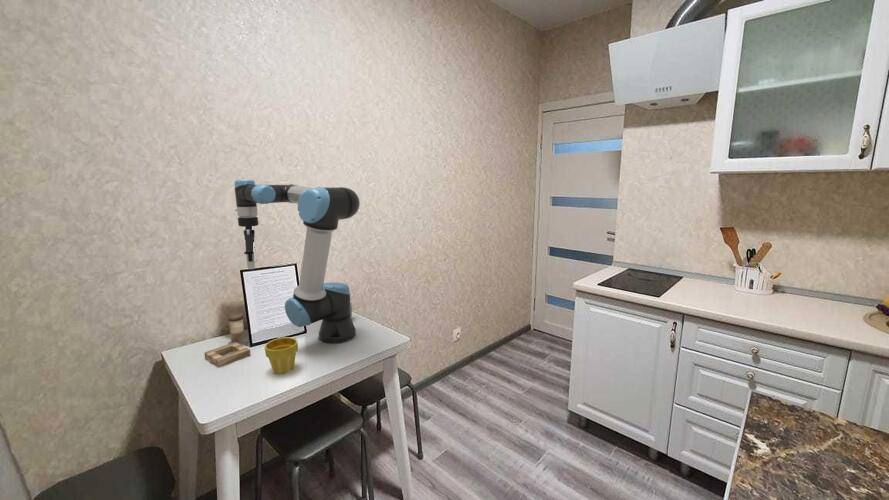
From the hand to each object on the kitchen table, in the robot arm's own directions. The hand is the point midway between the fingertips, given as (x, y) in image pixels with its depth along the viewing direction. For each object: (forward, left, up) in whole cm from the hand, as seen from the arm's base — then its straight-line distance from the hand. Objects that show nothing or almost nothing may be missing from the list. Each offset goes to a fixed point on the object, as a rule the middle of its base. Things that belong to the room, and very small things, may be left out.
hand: (252, 265), depth 156 cm
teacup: (-22, -29, -29) cm, 47 cm away
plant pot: (-43, +14, -29) cm, 54 cm away
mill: (-9, +13, -28) cm, 32 cm away
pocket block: (-18, +21, -29) cm, 40 cm away
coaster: (-9, +13, -29) cm, 33 cm away
